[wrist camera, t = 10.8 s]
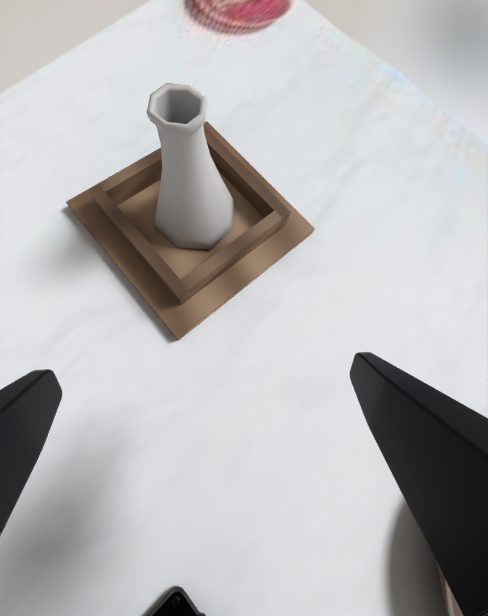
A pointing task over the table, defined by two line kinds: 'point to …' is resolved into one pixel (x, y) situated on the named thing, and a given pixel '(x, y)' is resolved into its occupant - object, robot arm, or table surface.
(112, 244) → the holder
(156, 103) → the flask
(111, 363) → the table surface
